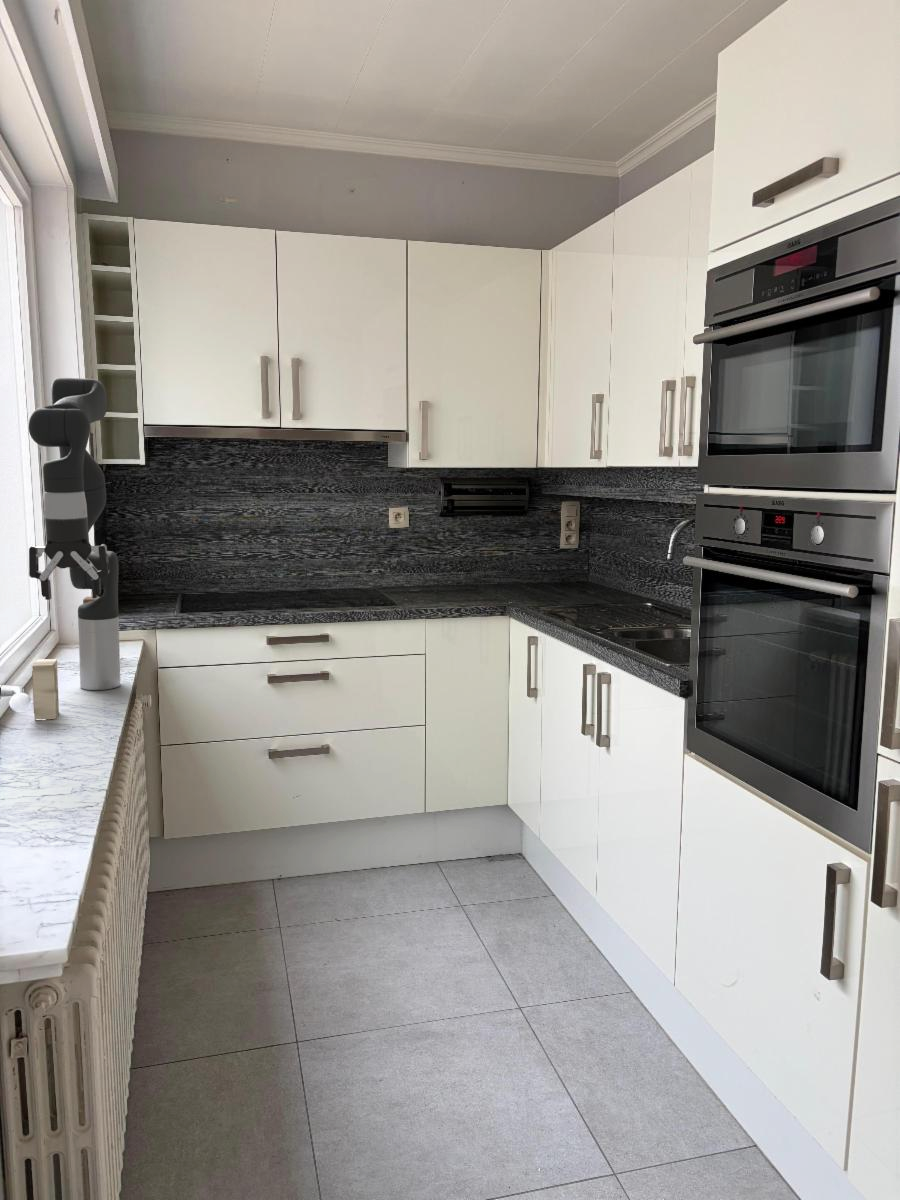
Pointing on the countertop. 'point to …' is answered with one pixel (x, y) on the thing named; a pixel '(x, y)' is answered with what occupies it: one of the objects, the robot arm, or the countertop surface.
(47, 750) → the countertop surface
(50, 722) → the countertop surface
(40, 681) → the birch block
